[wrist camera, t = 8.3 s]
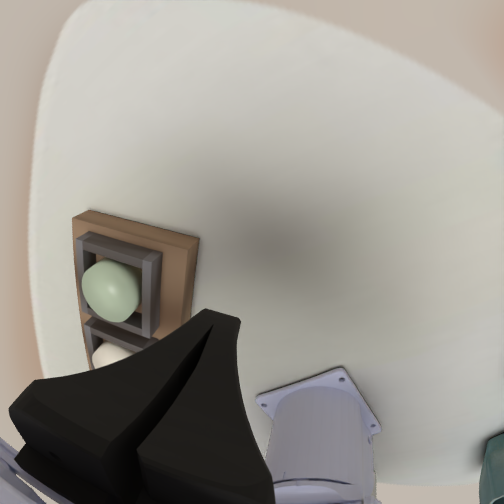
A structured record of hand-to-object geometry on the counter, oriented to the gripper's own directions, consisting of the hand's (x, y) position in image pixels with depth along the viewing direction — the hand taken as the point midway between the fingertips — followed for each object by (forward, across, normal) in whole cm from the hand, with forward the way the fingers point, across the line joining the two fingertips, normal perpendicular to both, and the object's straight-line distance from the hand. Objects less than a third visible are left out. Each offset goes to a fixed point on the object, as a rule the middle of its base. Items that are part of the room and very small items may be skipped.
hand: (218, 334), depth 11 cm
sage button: (+7, +9, +4) cm, 12 cm away
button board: (+9, +8, +11) cm, 17 cm away
